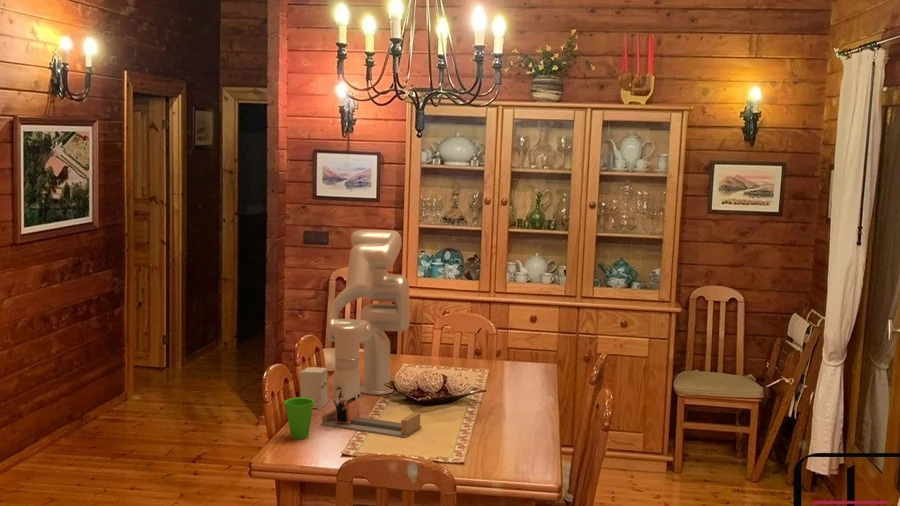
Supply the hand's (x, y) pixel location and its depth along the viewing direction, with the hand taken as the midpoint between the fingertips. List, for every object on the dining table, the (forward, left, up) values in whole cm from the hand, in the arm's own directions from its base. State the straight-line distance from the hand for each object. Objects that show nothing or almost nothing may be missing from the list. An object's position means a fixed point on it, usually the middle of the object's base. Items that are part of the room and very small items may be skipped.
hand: (347, 418), depth 289 cm
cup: (+18, -6, -2) cm, 19 cm away
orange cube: (0, 0, -2) cm, 2 cm away
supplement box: (-12, -20, -2) cm, 23 cm away
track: (0, +8, -2) cm, 9 cm away
